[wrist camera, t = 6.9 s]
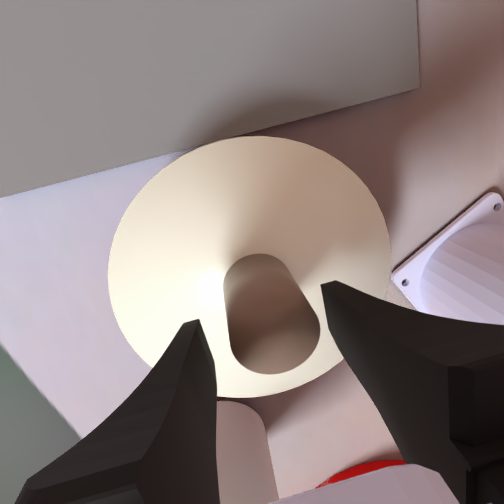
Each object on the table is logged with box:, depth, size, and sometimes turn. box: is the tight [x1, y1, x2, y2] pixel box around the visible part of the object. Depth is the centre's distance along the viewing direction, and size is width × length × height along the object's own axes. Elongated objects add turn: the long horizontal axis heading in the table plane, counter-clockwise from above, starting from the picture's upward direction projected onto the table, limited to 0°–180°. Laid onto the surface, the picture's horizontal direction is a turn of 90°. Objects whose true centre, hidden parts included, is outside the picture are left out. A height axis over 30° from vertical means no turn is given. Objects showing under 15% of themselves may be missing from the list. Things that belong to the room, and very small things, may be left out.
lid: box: [108, 136, 391, 398], centre depth 14 cm, size 13×13×5 cm
